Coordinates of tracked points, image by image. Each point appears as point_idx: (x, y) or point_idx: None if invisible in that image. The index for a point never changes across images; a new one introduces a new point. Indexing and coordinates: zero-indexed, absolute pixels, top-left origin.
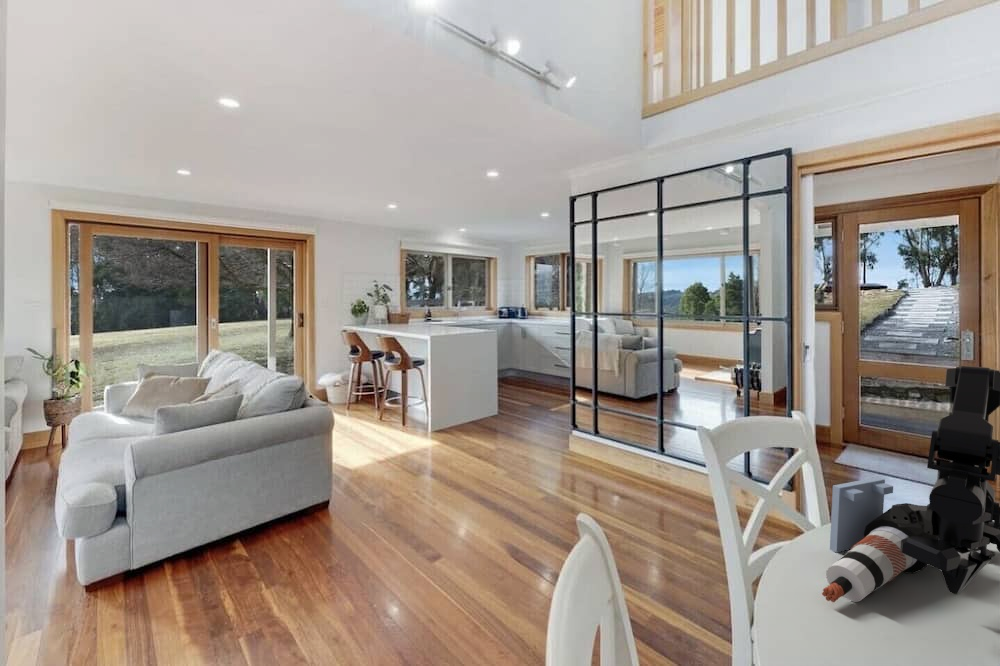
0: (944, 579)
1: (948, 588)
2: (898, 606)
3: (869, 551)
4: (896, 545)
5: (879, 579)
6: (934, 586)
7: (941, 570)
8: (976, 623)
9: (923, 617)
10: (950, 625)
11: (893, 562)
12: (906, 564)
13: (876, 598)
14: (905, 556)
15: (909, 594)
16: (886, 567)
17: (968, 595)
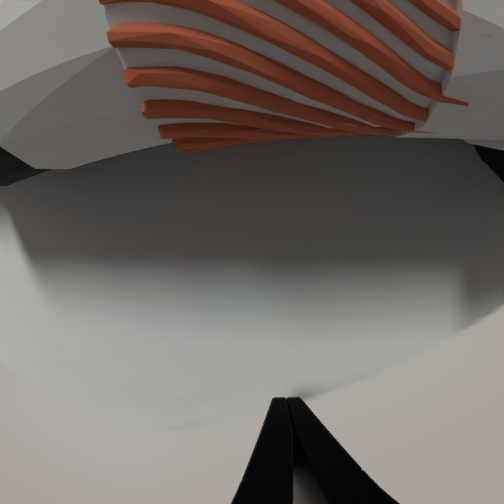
0: (256, 442)
1: (270, 409)
2: (117, 224)
3: (7, 12)
4: (455, 36)
5: (21, 176)
6: (445, 202)
7: (238, 489)
8: (296, 378)
9: (143, 302)
10: (193, 358)
11: (202, 120)
12: (396, 136)
13: None
14: (426, 127)
15: (273, 185)
16: (83, 143)
17: (468, 284)
